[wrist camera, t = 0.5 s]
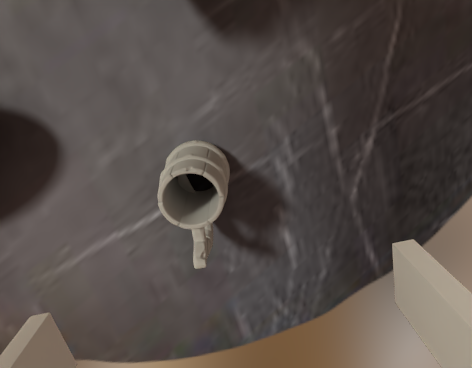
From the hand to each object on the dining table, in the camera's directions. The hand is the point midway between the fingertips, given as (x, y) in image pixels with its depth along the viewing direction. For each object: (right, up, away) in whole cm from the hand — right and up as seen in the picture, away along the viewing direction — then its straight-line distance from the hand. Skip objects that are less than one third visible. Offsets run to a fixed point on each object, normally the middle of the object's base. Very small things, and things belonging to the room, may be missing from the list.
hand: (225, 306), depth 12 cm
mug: (-4, +5, +28) cm, 29 cm away
